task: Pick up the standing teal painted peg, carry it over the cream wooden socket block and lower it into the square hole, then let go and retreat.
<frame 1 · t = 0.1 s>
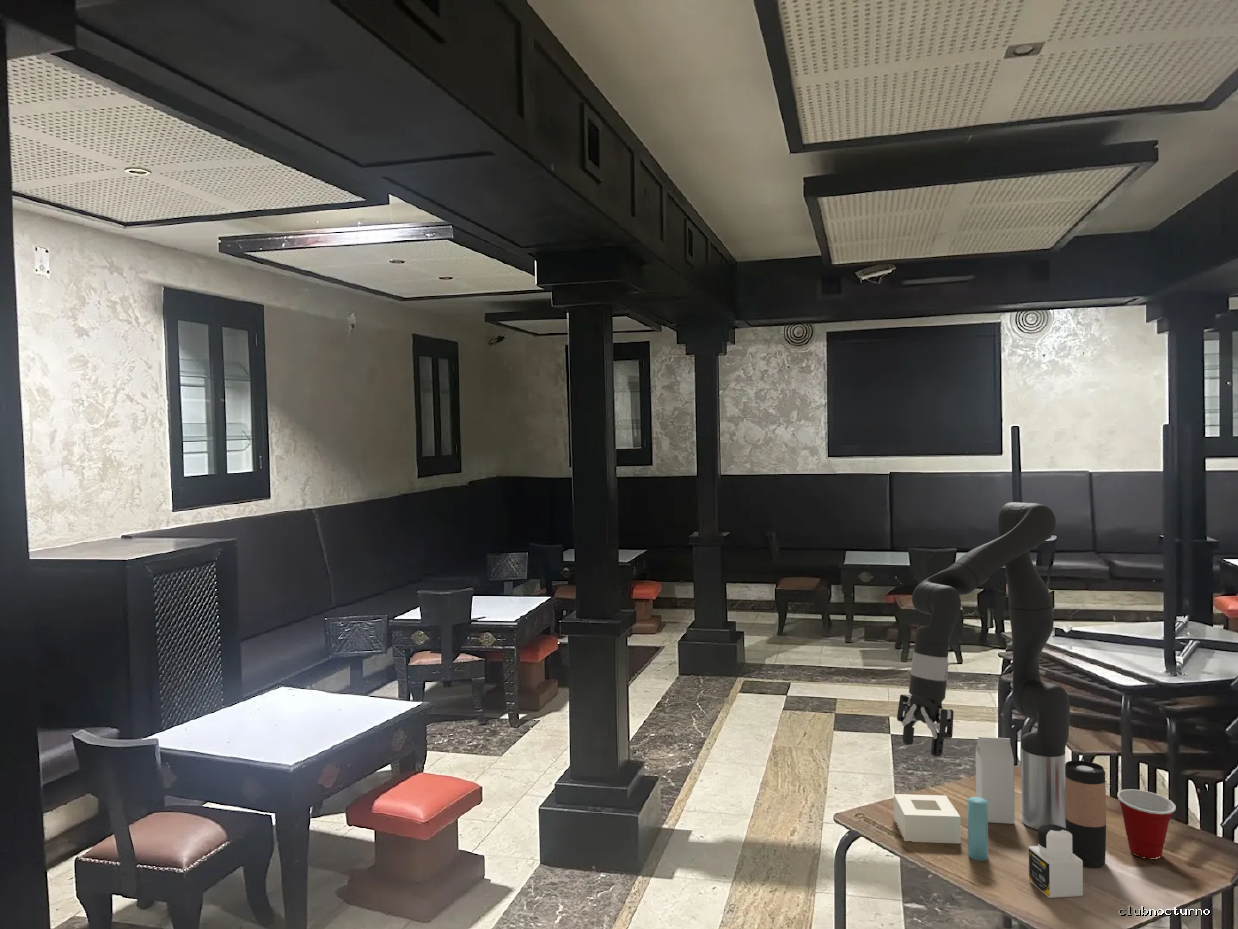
hand: (921, 750, 187), 22 cm above the table, tool pointing down, fingers open, 8 cm apart
medicine bottle: (1055, 889, 171), on the table
milk carton: (995, 818, 204), on the table
peg: (978, 856, 185), on the table
travel mug: (1085, 861, 182), on the table
plastic cup: (1146, 855, 185), on the table
socket block: (926, 831, 198), on the table
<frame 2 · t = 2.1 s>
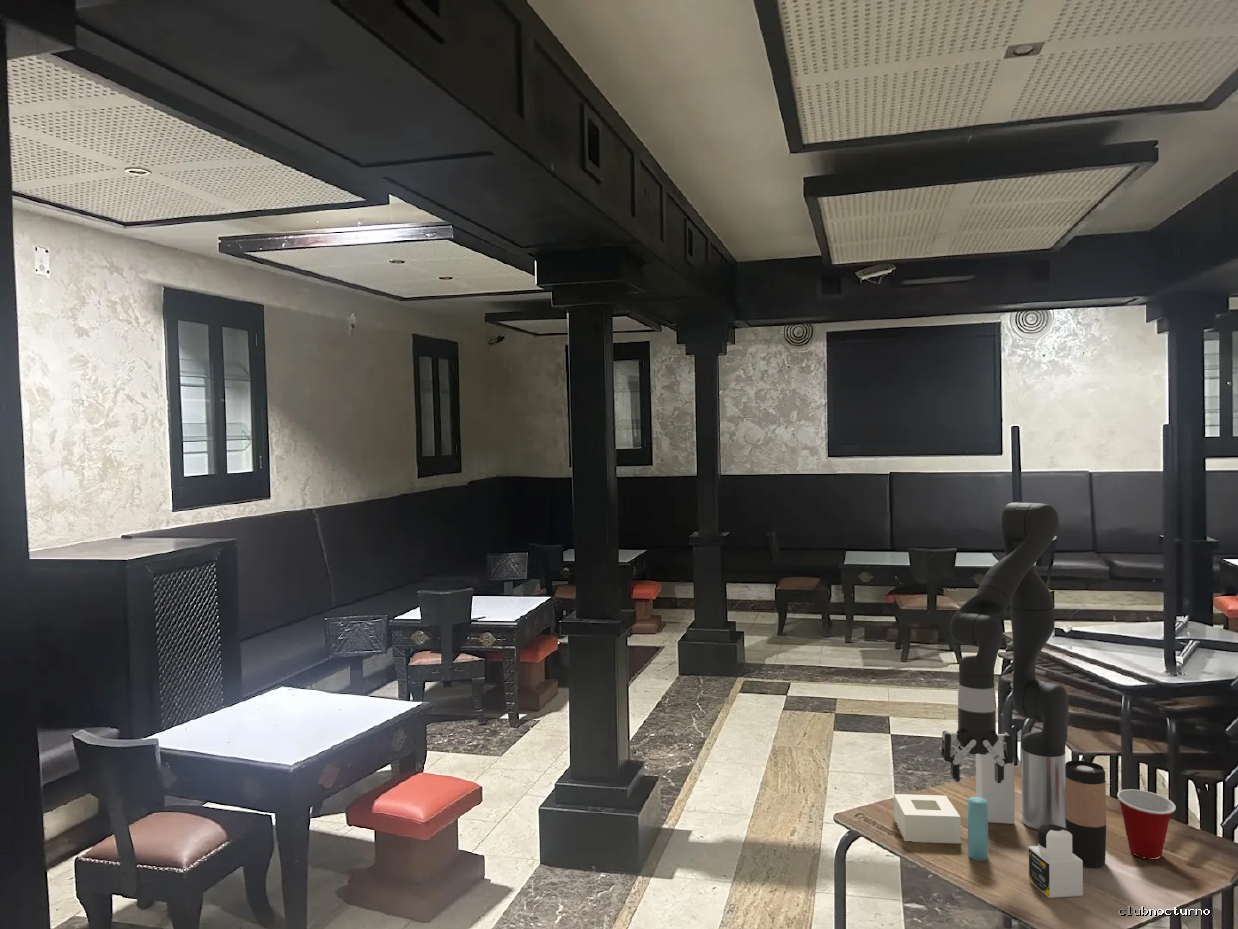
hand: (977, 781, 185), 16 cm above the table, tool pointing down, fingers open, 8 cm apart
nothing on the table moved.
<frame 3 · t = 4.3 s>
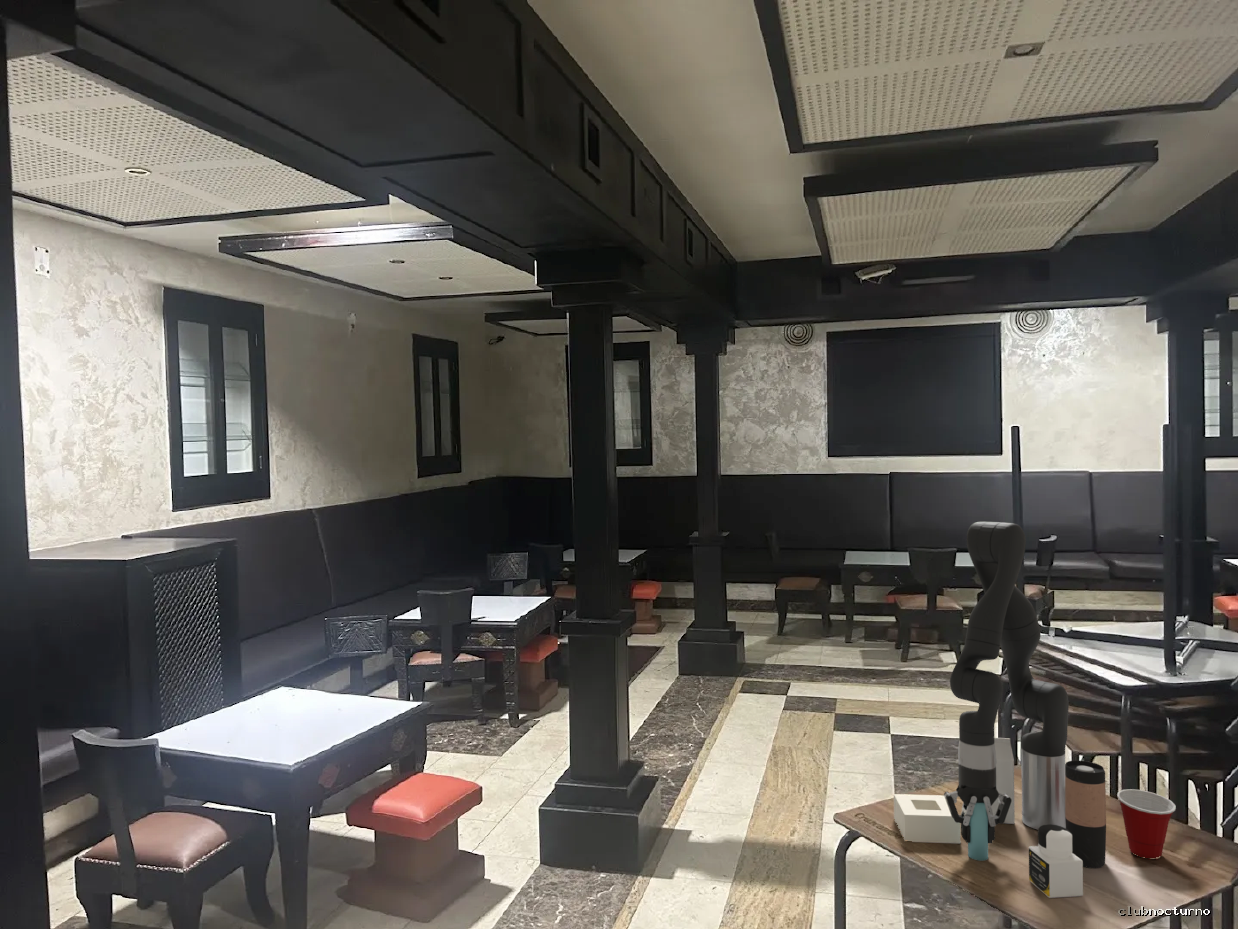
hand: (977, 841, 185), 3 cm above the table, tool pointing down, fingers closed on peg, 4 cm apart
peg: (978, 856, 185), on the table, touching gripper
everything else where it was.
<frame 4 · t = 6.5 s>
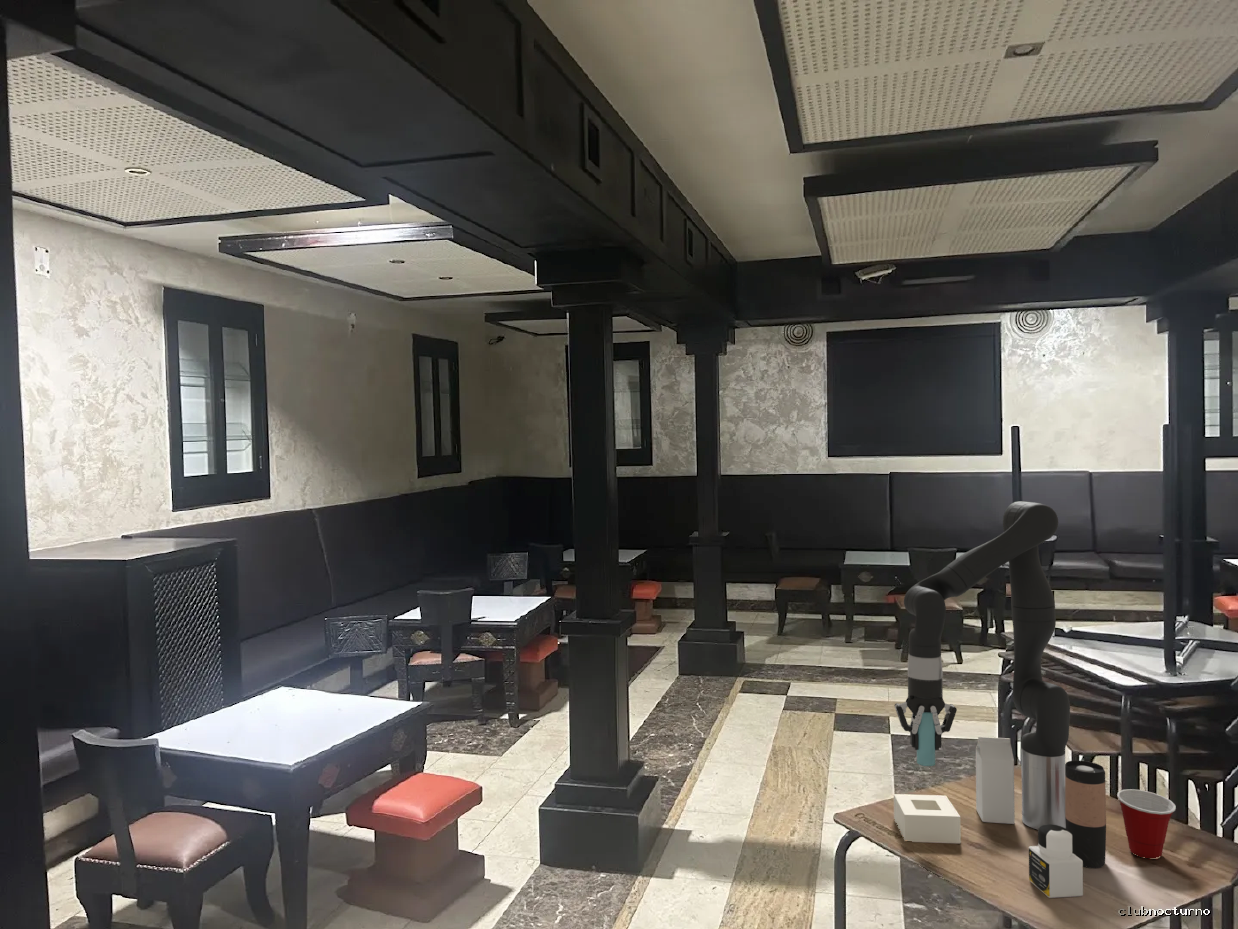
hand: (925, 748, 197), 19 cm above the table, tool pointing down, fingers closed on peg, 4 cm apart
peg: (926, 763, 197), point 16 cm above the table, touching gripper
everything else where it was.
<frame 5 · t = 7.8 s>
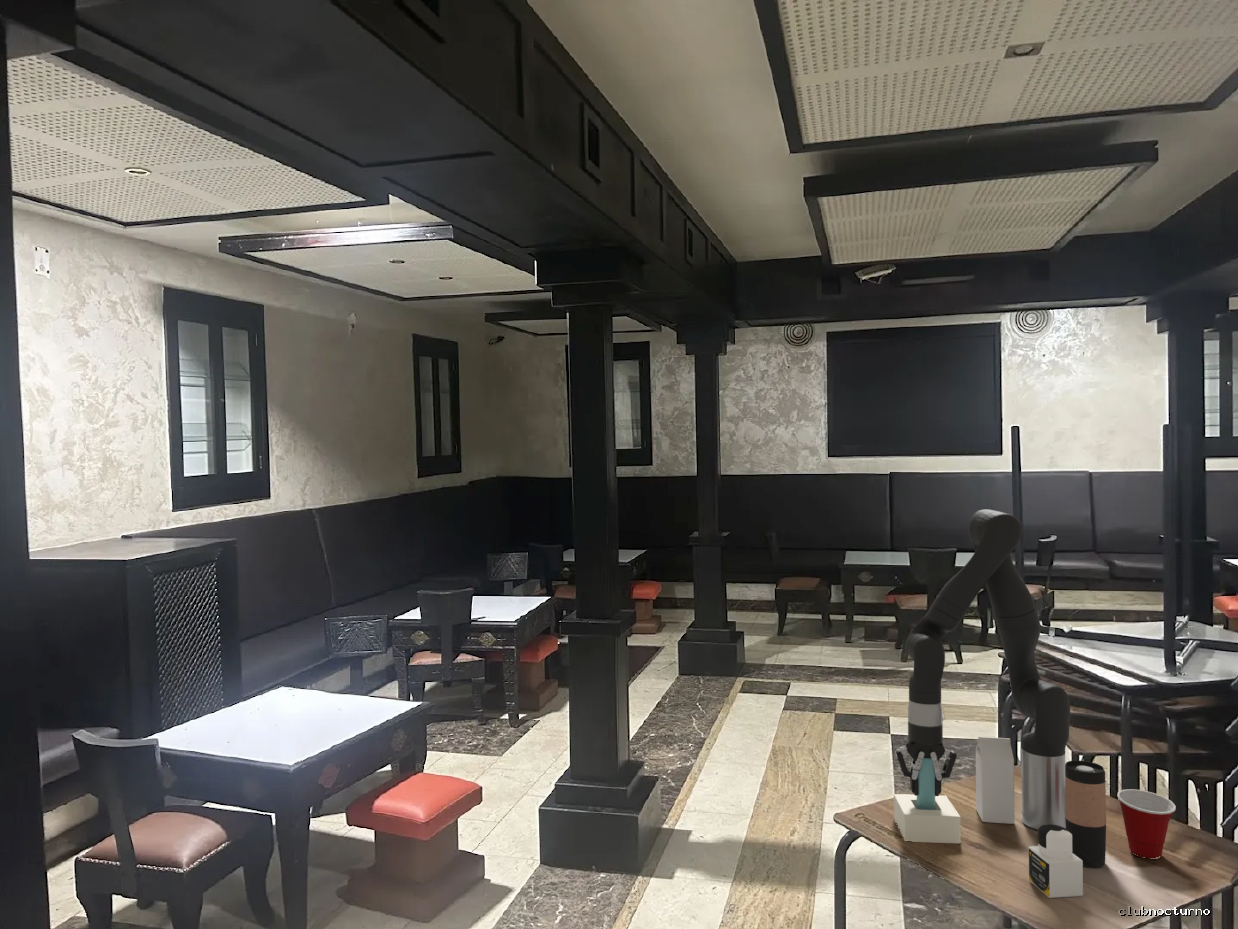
hand: (925, 794, 197), 8 cm above the table, tool pointing down, fingers closed on peg, 4 cm apart
peg: (925, 808, 197), point 5 cm above the table, touching gripper
everything else where it was.
when the fingers open (6 cm above the table, at t = 8.9 s): peg drops 3 cm, resting in socket block.
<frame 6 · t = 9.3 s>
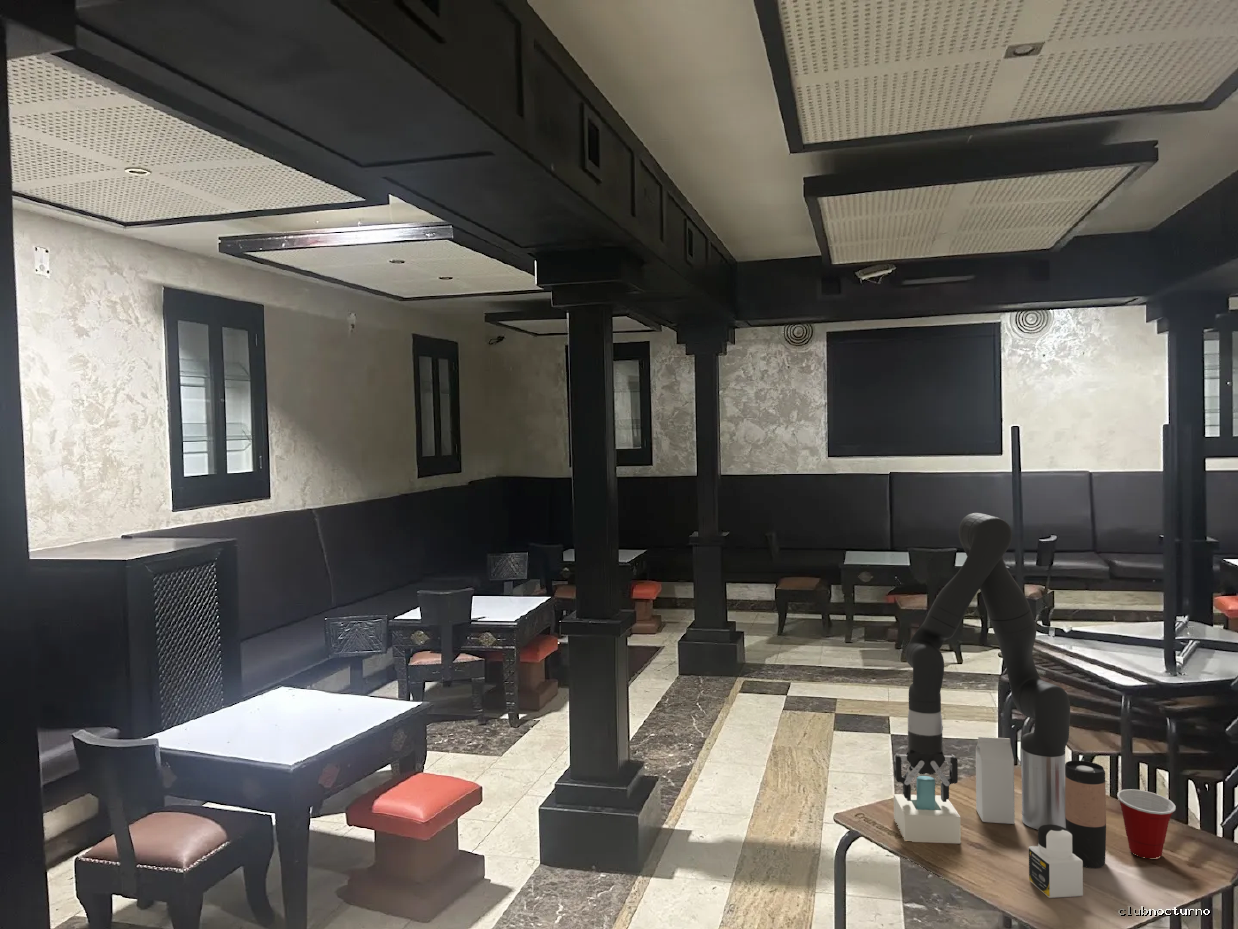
hand: (925, 800, 198), 7 cm above the table, tool pointing down, fingers open, 7 cm apart
peg: (925, 831, 197), resting in socket block
everything else where it was.
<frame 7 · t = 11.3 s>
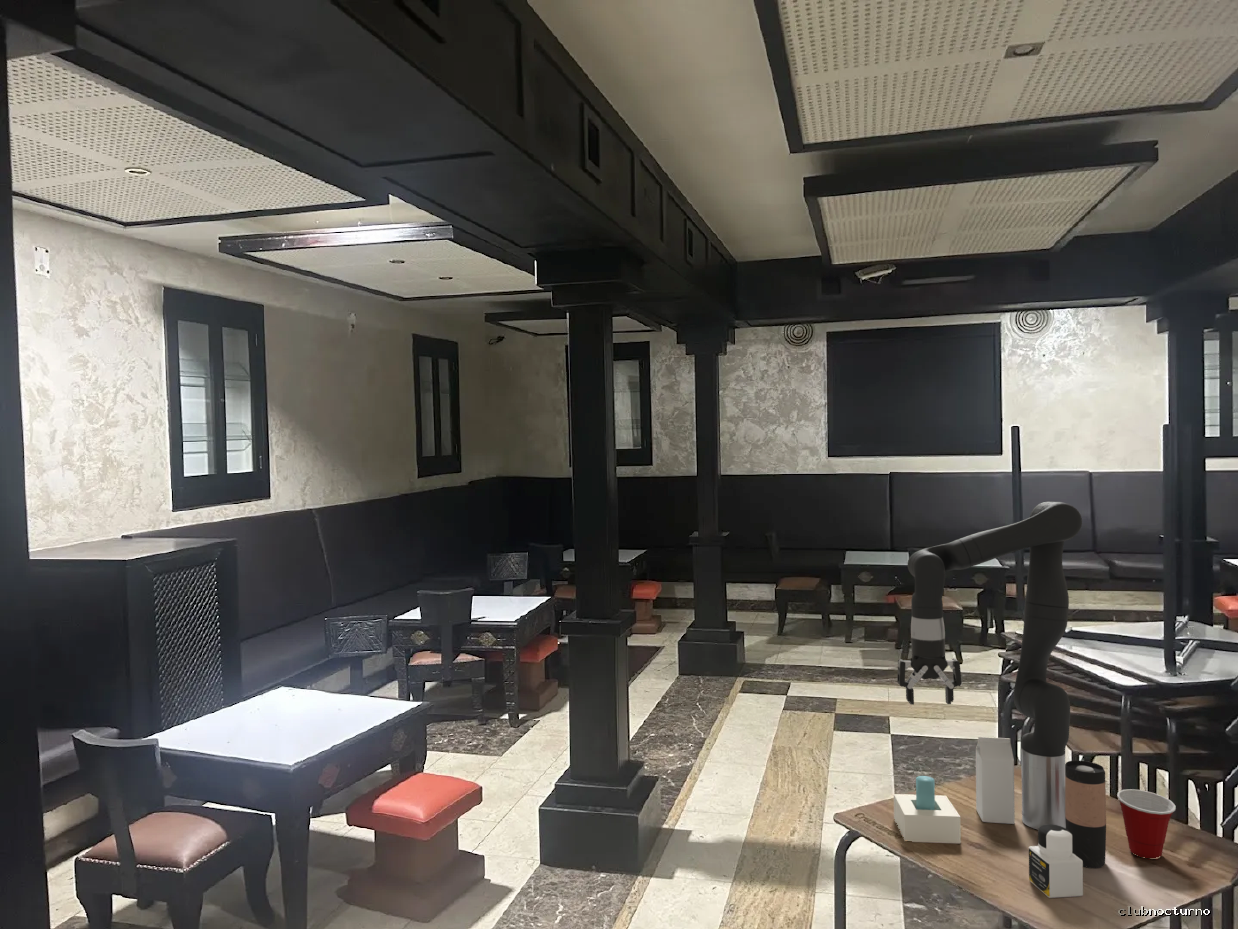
hand: (929, 703, 204), 27 cm above the table, tool pointing down, fingers open, 8 cm apart
nothing on the table moved.
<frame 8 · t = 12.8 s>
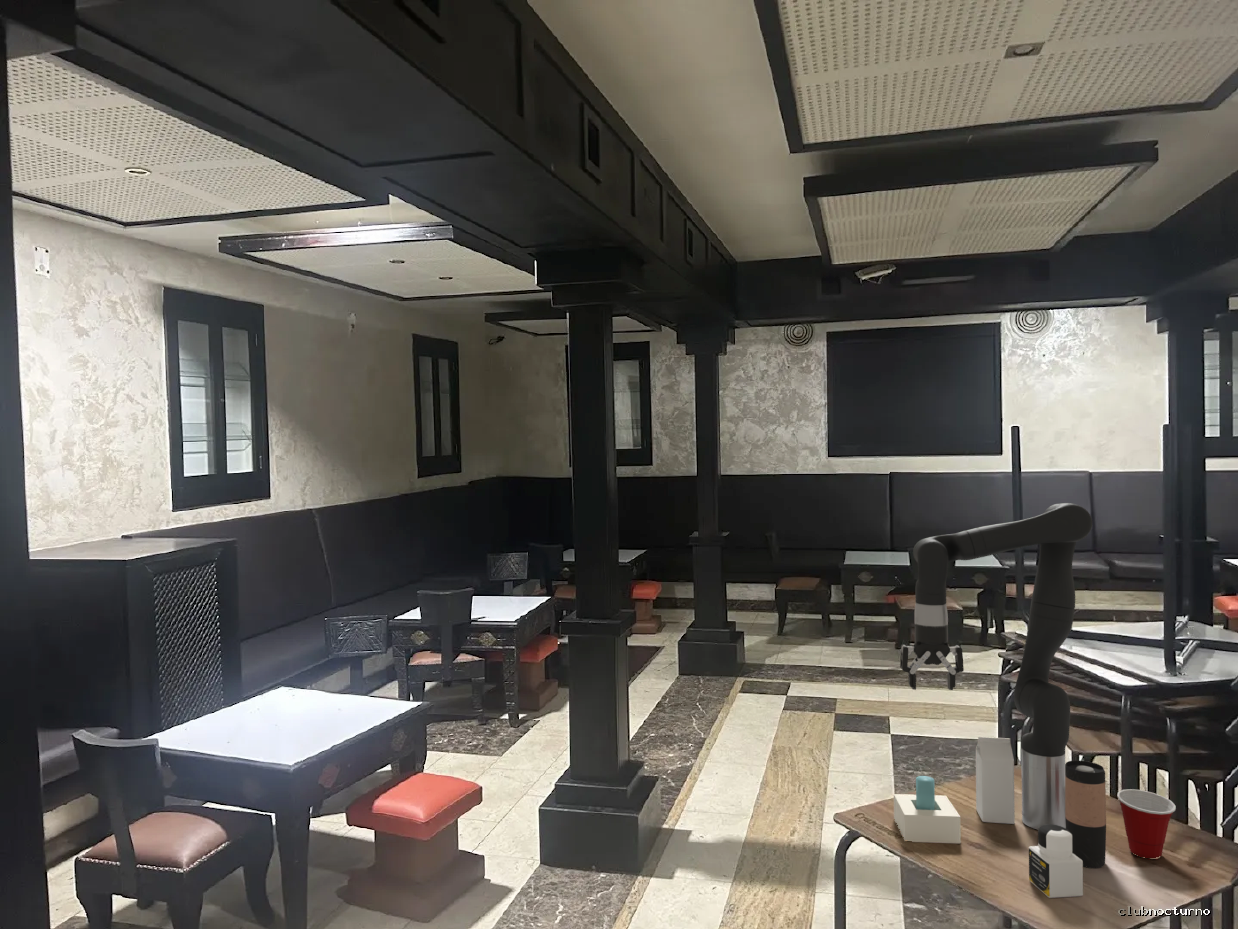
hand: (931, 689, 207), 30 cm above the table, tool pointing down, fingers open, 8 cm apart
nothing on the table moved.
at the end: peg 0.1 cm off-centre on the socket block, point 0.0 cm above the socket block's base; peg tilted 0°; the gripper is holding nothing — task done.
